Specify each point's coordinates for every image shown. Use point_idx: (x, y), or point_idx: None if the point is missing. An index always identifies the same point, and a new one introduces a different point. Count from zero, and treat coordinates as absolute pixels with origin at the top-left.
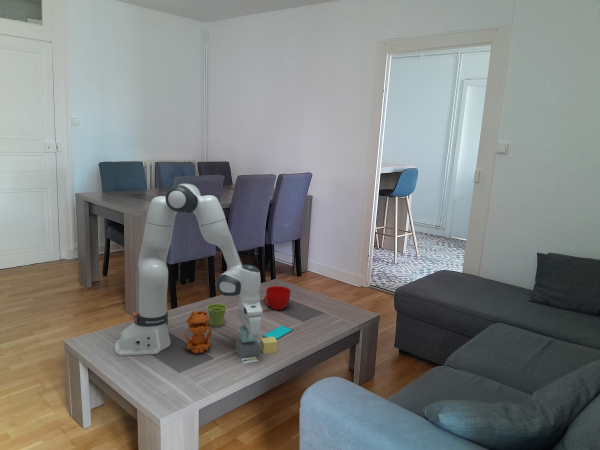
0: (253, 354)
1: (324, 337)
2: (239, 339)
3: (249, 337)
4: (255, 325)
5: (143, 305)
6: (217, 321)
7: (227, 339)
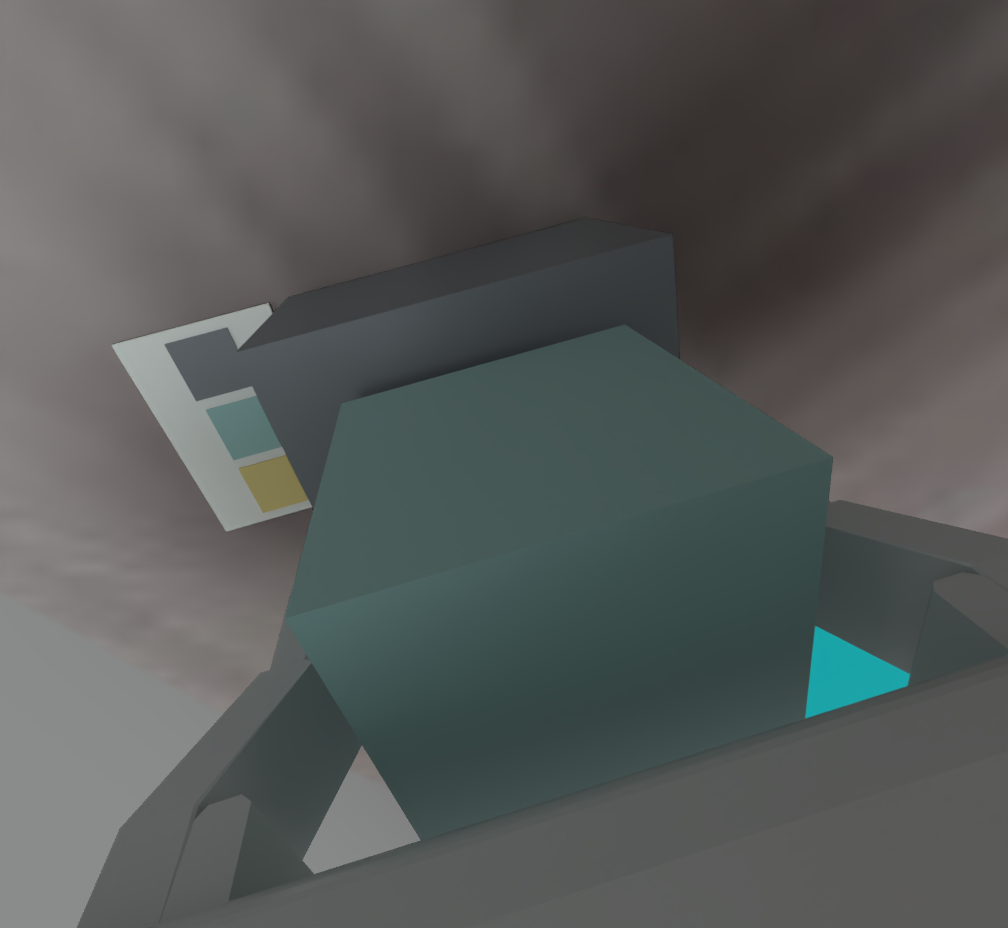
0: None
1: None
2: (616, 315)
3: (292, 640)
4: None
5: None
6: None
7: (961, 77)
